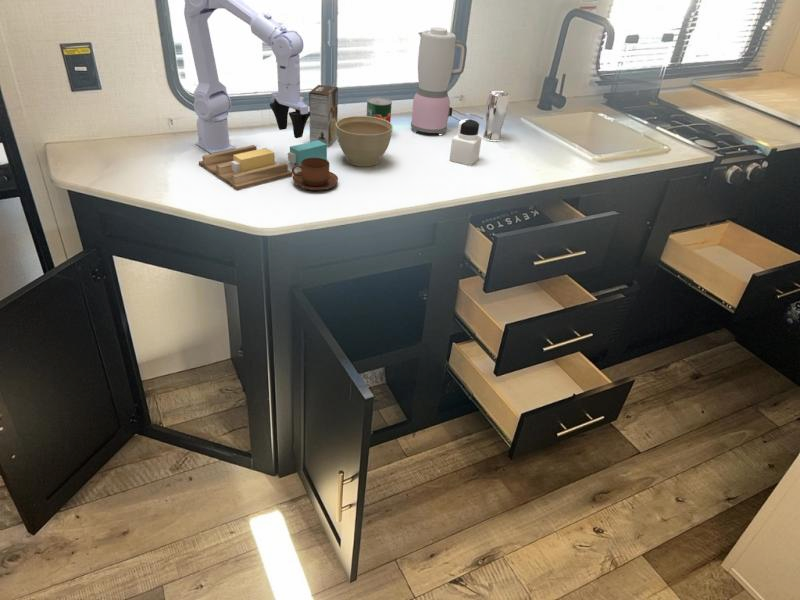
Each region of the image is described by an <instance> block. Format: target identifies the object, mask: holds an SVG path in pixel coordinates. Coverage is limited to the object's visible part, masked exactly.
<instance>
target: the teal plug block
mask: <svg viewBox="0 0 800 600" xmlns="http://www.w3.org/2000/svg"><path fill="white" fill-rule="evenodd" d="M327 155H328V147H327V144H325V143H323V142H321V141H319V140H317V141H313V142H310V141H309V142H305V143H300V144H296V145H290V146H289V152H287V161H288V162H289V164H291V165H293V166H295V165H301V162H302V161H303V160H304V159H307V158H322V159H325V160H327V161H328V159H327V158H328V157H327Z"/></svg>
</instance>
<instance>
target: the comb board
mask: <svg viewBox="0 0 800 600" xmlns="http://www.w3.org/2000/svg"><path fill="white" fill-rule="evenodd" d="M254 150H258V148H257V145H254V144H251V145H248V146H247V145H246V146H243V147H239V148H238V147H237V148H236V149H232V150H227V151H223V152H218V153H213V154H211V153H209V154H206V155H202V156H201V157H202V160H200V161H198V165H199V166H200V167H201V168H202V169H204V170H206V171H207V172H209V173H210V174H212V175H213V176H215V177H217V179H219V180H221V181H222V182H224V183H226V184H227V185H228V186H230V187H231V188H233V189H234V190H236V191H240V190H244V189H249V188H252V187H256V186H259V185H260V186H261V185H263V184H267V183H270V182H274V181H278V180H282V179H285V178H289V177H293V173H292V171H291V170H289V169H288V164H287V163H286V162H280V163H277V162H275V165H271V166H267V167H263V168H259V169H255V170H251V171H247V172H242V173H238V174H236V173H235V172H234V171H232V166H231V162H232V161H234V159H233V155H236V154H240V153H245V152H249V151H254Z"/></svg>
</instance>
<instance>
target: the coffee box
mask: <svg viewBox="0 0 800 600" xmlns="http://www.w3.org/2000/svg"><path fill="white" fill-rule="evenodd" d="M338 89H339V88H338V86H332V85H331V86H330V85H324V84H317V86H315V87H314V88H313V89H311V90H310V91H308V98H309V99H308V100H309V101H308V102H309V104H308V105H309V106H308V111H309V112H310V116H309V118H308V119H309V142H313V141H317V140H319V141H321V142H323V143H325V144H327V148H329V147H331V145H332V144H334V142H335V141H336V140H338V138H337V129H336V123H337V121H338V113H339V112H338V110H339V109H338V105H339V104H338V103H339V102H338V101H339V98H338V97H339V96H338V94H339V93H338V92H339V90H338Z"/></svg>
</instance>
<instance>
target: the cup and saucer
mask: <svg viewBox="0 0 800 600" xmlns="http://www.w3.org/2000/svg"><path fill="white" fill-rule="evenodd" d="M296 168H298V169H301V170H300V171H297V172H296V171H295V169H296ZM291 172H292V181H293V183H294V184H295V185H297V186H298V187H300V188H301V189H305V190H311V191H323V190H327V189H330V188H333V187H334V186H336V185H337V183H338V181H339V177H338V175H336V174H335V173H333V172H331V171H330V162H329V160H328V159H327V160H325V159H322V158H307V159H304V160H303V161H302V162H301V165H295V166H294V165H293V166H292V168H291Z"/></svg>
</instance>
